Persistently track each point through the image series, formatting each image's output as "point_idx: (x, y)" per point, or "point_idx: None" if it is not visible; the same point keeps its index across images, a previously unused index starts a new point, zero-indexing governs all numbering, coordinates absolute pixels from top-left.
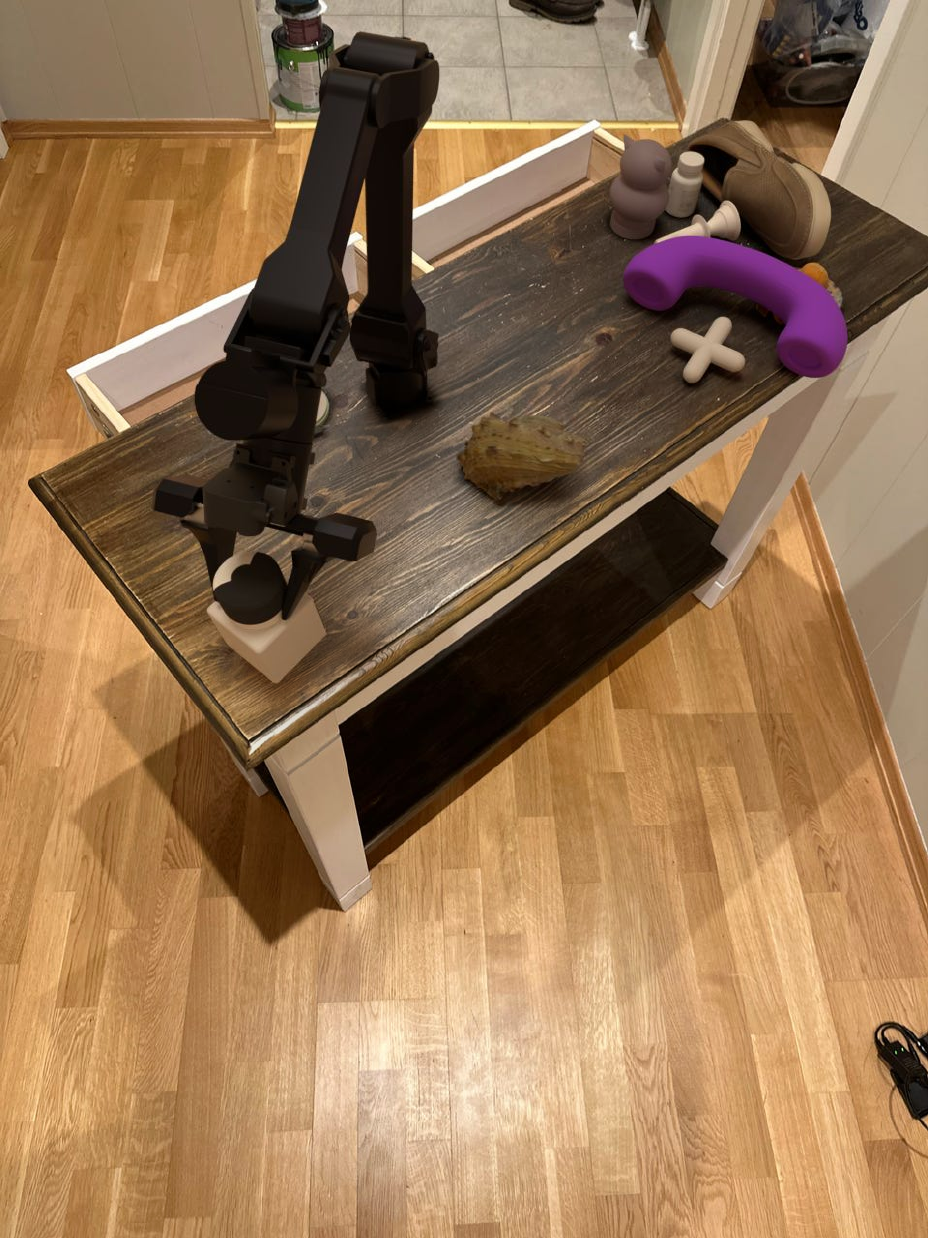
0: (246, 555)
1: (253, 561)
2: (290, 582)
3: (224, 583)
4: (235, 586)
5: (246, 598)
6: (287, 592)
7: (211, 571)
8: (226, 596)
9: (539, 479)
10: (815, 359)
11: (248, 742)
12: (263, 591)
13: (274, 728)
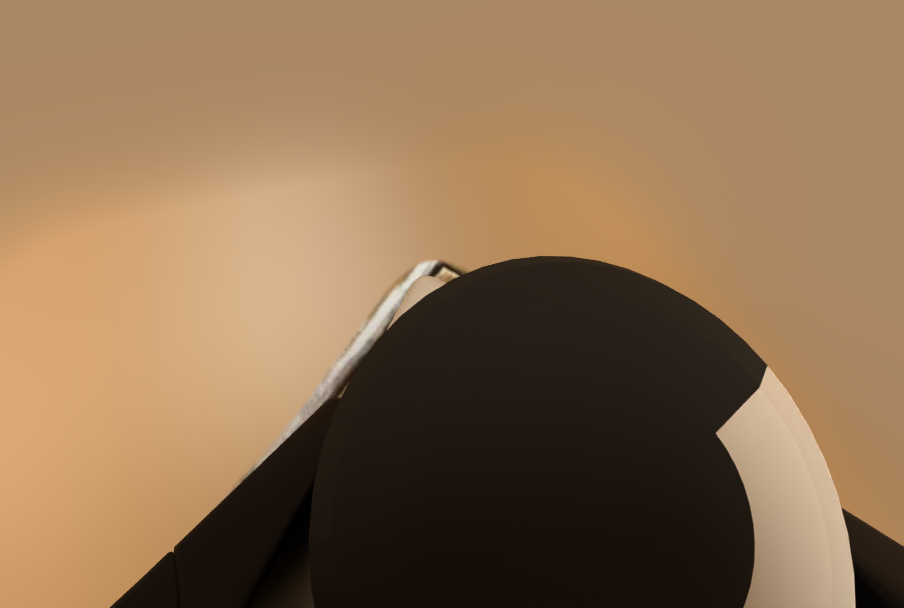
0: None
1: None
2: (225, 595)
3: (742, 400)
4: (653, 387)
5: (524, 308)
6: (283, 512)
7: (847, 526)
8: (666, 305)
9: None
10: None
11: (442, 262)
12: (415, 400)
13: (403, 298)
